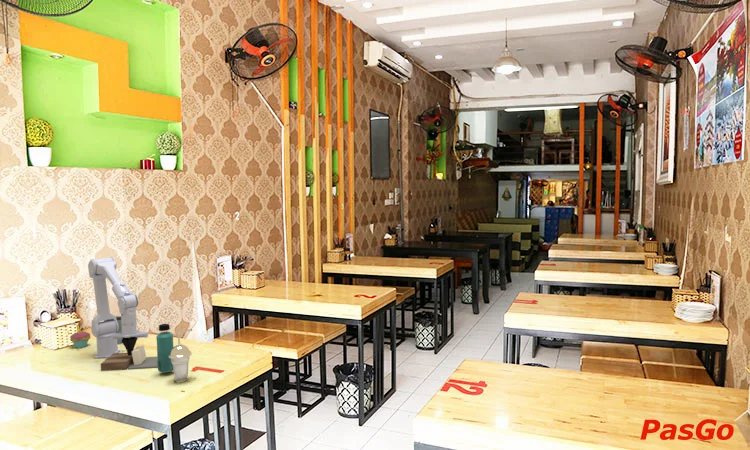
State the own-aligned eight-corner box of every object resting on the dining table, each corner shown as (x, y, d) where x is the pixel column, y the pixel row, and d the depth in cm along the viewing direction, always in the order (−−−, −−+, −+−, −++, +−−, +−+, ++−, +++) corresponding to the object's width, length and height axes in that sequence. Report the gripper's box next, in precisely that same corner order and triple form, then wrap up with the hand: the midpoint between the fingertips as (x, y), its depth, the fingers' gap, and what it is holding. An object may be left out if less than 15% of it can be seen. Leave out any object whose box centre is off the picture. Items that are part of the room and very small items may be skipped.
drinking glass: (108, 340, 260) (106, 316, 260) (130, 338, 263) (128, 315, 262) (102, 346, 250) (101, 321, 250) (125, 344, 253) (124, 319, 252)
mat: (138, 358, 230) (138, 357, 230) (167, 357, 232) (167, 355, 231) (127, 369, 216) (127, 368, 216) (158, 367, 218) (158, 366, 218)
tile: (138, 346, 227) (143, 345, 227) (140, 359, 227) (146, 358, 227) (131, 351, 219) (137, 350, 219) (134, 365, 219) (140, 364, 220)
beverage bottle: (178, 371, 212) (176, 322, 211) (167, 377, 206) (165, 327, 205) (165, 370, 215) (163, 321, 213) (153, 375, 208) (151, 325, 207)
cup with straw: (182, 374, 208) (180, 325, 207) (198, 378, 204) (196, 327, 202) (164, 381, 201) (162, 330, 200) (180, 385, 196) (178, 333, 195)
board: (113, 360, 229) (113, 353, 229) (137, 358, 230) (137, 352, 230) (100, 370, 215) (100, 363, 215) (126, 369, 216) (126, 362, 216)
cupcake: (84, 349, 247) (83, 323, 246) (66, 349, 247) (65, 324, 246) (94, 343, 255) (93, 319, 254) (77, 344, 255) (75, 319, 254)
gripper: (107, 326, 217) (108, 358, 218) (143, 324, 219) (145, 356, 220) (113, 322, 224) (115, 353, 225) (149, 320, 226) (150, 351, 227)
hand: (130, 354), depth 223 cm, fingers closed
